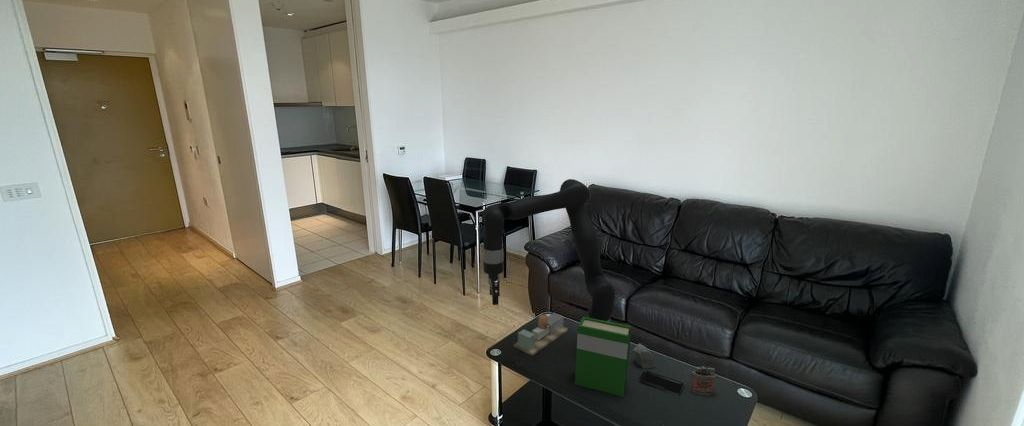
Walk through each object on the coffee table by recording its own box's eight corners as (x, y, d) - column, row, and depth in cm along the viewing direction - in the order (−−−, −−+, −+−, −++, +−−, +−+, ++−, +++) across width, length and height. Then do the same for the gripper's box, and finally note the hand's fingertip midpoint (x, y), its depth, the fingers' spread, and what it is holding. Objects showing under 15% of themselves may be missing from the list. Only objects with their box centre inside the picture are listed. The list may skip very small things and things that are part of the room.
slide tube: (553, 322, 197) (554, 306, 195) (561, 325, 195) (561, 308, 193) (531, 337, 185) (531, 319, 183) (538, 340, 182) (539, 322, 180)
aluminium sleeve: (553, 323, 199) (554, 312, 197) (563, 327, 195) (563, 316, 194) (541, 331, 191) (541, 320, 190) (550, 335, 188) (551, 324, 187)
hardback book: (626, 384, 157) (631, 326, 151) (623, 396, 151) (628, 336, 145) (579, 372, 164) (582, 316, 158) (574, 384, 157) (578, 325, 151)
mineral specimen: (638, 354, 175) (644, 339, 172) (654, 369, 169) (660, 353, 165) (626, 359, 171) (631, 344, 168) (642, 374, 165) (648, 358, 161)
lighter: (690, 393, 153) (694, 369, 150) (688, 387, 156) (691, 363, 154) (714, 396, 152) (718, 371, 149) (711, 390, 155) (715, 366, 152)
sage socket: (523, 342, 182) (523, 329, 181) (534, 347, 178) (534, 334, 177) (517, 346, 180) (518, 332, 178) (529, 351, 176) (529, 337, 174)
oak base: (550, 323, 201) (550, 321, 200) (568, 330, 194) (568, 328, 194) (513, 346, 181) (513, 344, 180) (532, 355, 174) (532, 353, 174)
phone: (644, 369, 165) (684, 383, 157) (643, 372, 165) (684, 386, 157) (638, 380, 158) (680, 395, 151) (637, 383, 159) (679, 397, 151)
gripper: (506, 265, 151) (506, 307, 155) (500, 252, 165) (501, 290, 169) (485, 267, 150) (486, 308, 154) (481, 253, 163) (482, 292, 168)
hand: (493, 299), depth 161 cm, fingers open, 8 cm apart
